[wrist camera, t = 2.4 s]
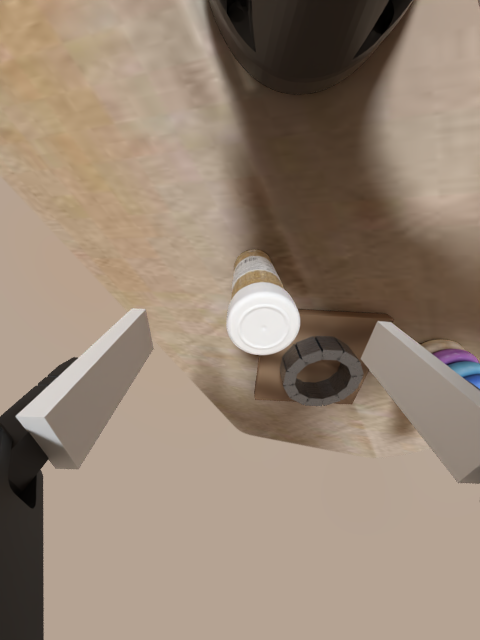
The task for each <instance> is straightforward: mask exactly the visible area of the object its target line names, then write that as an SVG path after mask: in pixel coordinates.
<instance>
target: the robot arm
mask: <svg viewBox="0 0 480 640" xmlns="http://www.w3.org/2000/svg"><path fill="white" fill-rule="evenodd" d="M412 2H413V0H209V3H210V6H211V9H212V12H213V15H214V17H215V20H216V23H217V25H218V27H219V30H220V32H221V34H222V36H223V38H224V40H225V42H226V44H227V45H228V47H229V49H230V50H231V52H232V53H233V55H234V56H235V58H236V59H237V60H238V62H239V63H240V64H241V65H242V67H243V68H244V69H245V70H246V71H247V72H248V73H249V74H250V75H252V76H253V77H254V78H255V79H256V80H258V81H259V82H260V83H262V84H264V85H265V86H267V87H269V88H271V89H273V90H276V91H279V92H283V93H287V94H309V93H314V92H318V91H321V90H324V89H326V88H329V87H331V86H333V85H335V84H337V83H338V82H340V81H342V80H343V79H345V78H346V77H347V76H349V75H350V74H351V73H353V72H354V71H355V70H356V69H358V68H359V67H360V66H361V65H362V64H363V63H364V62H365V61H366V60H367V59H368V58H369V57H370V56H371V55H372V53H373V52H374V51H375V50H376V49H377V48H378V46H379V45H380V44H381V43H382V42H383V40H384V39H385V38H386V37H387V36H388V35H389V33H390V32H391V31H392V30H393V29H394V27H395V26H396V25H397V23H398V22H399V21H400V19H401V18H402V17H403V15H404V14H405V12H406V11H407V9H408V8H409V7H410V5H411V3H412ZM478 3H479V7H480V0H478ZM152 350H153V344H152V339H151V333H150V328H149V323H148V318H147V313H146V309H133V308H132V309H131V310H130V311H129V312H128V313H127V314H125V315H124V316H123V317H122V318H121V319H120V320H119V321H118V322H117V323H116V324H115V325H114V326H113V327H111V328H110V329H109V330H108V331H107V332H106V333H105V334H104V335H103V336H102V337H101V338H99V339H98V340H97V341H96V342H95V343H94V344H93V345H92V346H91V347H90V348H89V349H88V350H87V351H85V352H84V353H83V354H82V355H81V356H80V357H79V358H75V357H74V358H72V359H70V360H68V361H66V362H64V363H63V364H61V365H59V366H58V367H57V368H56V369H55V370H53V371H52V372H51V373H50V374H49V375H48V377H45V378H44V379H43V380H42V381H41V382H39V383H38V386H35V387H34V388H33V389H31V390H30V391H29V392H28V393H27V394H26V395H24V396H23V397H22V398H21V399H20V400H19V401H18V402H16V403H15V404H14V405H13V406H12V407H11V408H9V409H8V410H7V411H6V412H5V413H4V414H3V415H1V417H0V640H43V475H42V472H41V470H40V469H41V468H42V467H43V465H44V464H45V463H46V461H47V460H48V459H49V461H50V462H51V463H52V465H53V466H54V467H55V468H57V469H79V468H80V466H81V464H82V463H83V461H84V459H85V458H86V456H87V454H88V453H89V452H90V450H91V448H92V447H93V445H94V444H95V442H96V440H97V439H98V437H99V435H100V434H101V432H102V431H103V429H104V427H105V426H106V424H107V423H108V421H109V419H110V418H111V416H112V415H113V413H114V411H115V410H116V408H117V406H118V405H119V403H120V402H121V400H122V398H123V397H124V395H125V394H126V392H127V390H128V389H129V387H130V386H131V384H132V382H133V381H134V379H135V377H136V376H137V374H138V373H139V371H140V370H141V368H142V366H143V365H144V363H145V362H146V360H147V358H148V357H149V355H150V354H151V352H152ZM361 360H362V361H363V362H364V364H365V365H366V366H367V367H368V369H369V370H370V371H371V373H372V374H373V375H374V376H375V378H376V379H377V380H378V382H379V383H380V384H381V385H382V387H383V388H384V389H385V390H386V392H387V393H388V394H389V396H390V397H391V398H392V399H393V401H394V402H395V403H396V404H397V406H398V407H399V408H400V410H401V411H402V412H403V413H404V415H405V416H406V417H407V419H408V420H409V421H410V422H411V424H412V425H413V426H414V427H415V429H416V430H417V431H418V433H419V434H420V435H421V436H422V438H423V439H424V440H425V441H426V443H427V444H428V445H429V447H430V448H431V449H432V450H433V452H434V453H435V454H436V455H437V457H438V458H439V459H440V461H441V462H442V463H443V464H444V466H445V467H446V468H447V469H448V471H449V472H450V473H451V475H452V476H453V477H454V478H455V480H456V481H457V482H458V483H477V484H479V483H480V389H479V388H478V387H476V386H475V385H474V384H472V383H471V382H469V381H467V380H465V379H464V378H463V377H461V376H460V375H459V374H457V373H456V372H455V371H453V370H452V369H451V368H450V367H448V366H447V365H446V364H444V363H443V362H442V361H441V360H439V359H438V358H437V357H435V356H434V355H433V354H431V353H430V352H429V351H428V350H426V349H425V348H424V347H422V346H421V345H420V344H419V343H417V342H416V341H415V340H413V339H412V338H411V337H409V336H408V335H407V334H406V333H404V332H403V331H402V330H400V329H399V328H398V327H396V326H395V325H394V324H393V323H391V322H383V321H377V323H376V325H375V328H374V330H373V332H372V334H371V337H370V339H369V341H368V343H367V346H366V348H365V350H364V352H363V355H362V357H361Z"/></svg>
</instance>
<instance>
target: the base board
mask: <svg viewBox="0 0 480 640" xmlns="http://www.w3.org/2000/svg"><path fill="white" fill-rule="evenodd" d="M298 311H299V315H300V328H299V332H298V334H297V336H296V338H295V339H294V341H293V342H292V343H291V344H290V345H289V346H287V347H286V348H285V349H283V350H281V351H279V352H277V353H274V354H270V355H259V361H258V368H257V376H256V384H255V391H254V394H255V400H274V401H295V400H292V399H291V398H289V396H288V394H287V392H286V391H285V389H284V387H283V383H282V379H281V374H280V364H281V359H282V357H283V355H284V354H285V352H286V351H287V350H288V349H289V348H290V347H291V346H292V345H293V344H296V342H299V341H301V340H304V339H307V338H309V337H312V336H314V338H315V336H332V337H334V338H335V337H336V338H337V339H339V340H341V341H342V342H344V343H345V344H347V345H348V346H349V347H350V349H351V350H352V351H353V353H354V354H355V355H356V357H357V358H358V359H359V361H360V363H361V366H362V370H363V378H362V380H361V382H360V384H359V386H358V388H357V389H356V391H354V392H353V393H351V394H350V395H349V396H347V397H346V398H345V399H343V400H341V399H340V401H339V402H335V403H336V404H352V403H353V401H354V399H355V397H356V395H357V393H358V391H359V389H360V387H361V385H362V383H363V381H364V379H365V377H366V375H367V373H368V371H369V369H368V367H367V366H366V365H365V364H364V362H363V361H362V360H361V357H362V355H363V352H364V350H365V348H366V346H367V343H368V341H369V339H370V337H371V334H372V332H373V330H374V328H375V325H376V323H377V321H383V322H391V323H393V321H394V319H393V318H391V317H390V316H389V315H387V314H378V313H360V312H342V311H324V310H306V309H298ZM296 345H297V344H296ZM340 363H341V362H339V361H338V360H320V361H317V362H314V363H311V364H308V365H307V366H305V367H304V368H303V369H302V370H301V371H300V372H299V373H298V374H297V377H296V378H297V379H299V380H301V381H303V382H315V383H316V382H319V381H322V380H326V379H328V378H330V377H331V376H332V375H333V374H334V373H336V372H337V371H338V368H339V366H340ZM295 402H297V401H295Z"/></svg>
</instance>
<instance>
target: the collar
mask: <svg viewBox="0 0 480 640" xmlns="http://www.w3.org/2000/svg"><path fill="white" fill-rule="evenodd" d="M296 344H297V345H296ZM296 344H293V345H292V346H291V347H290V348H289V349H288V350H287V351H286V352H285V354H284V355H283V357H282V359H281V364H280V374H281V379H282V383H283V387H284V389H285V391H286V392H287V394H288V396H289V398H291V399H292V400H295V401H297V402H299V403H301V404H303V405H304V404H305V405H309V406H322V404H323V405H324V406H325V405H329V404H332V403H335V402H339V401H340V399H341V400H343V399H345V398H346V397H347V396H349V395H350V394H351V393H353V392H354V391H356V389H357V388H358V386H359V384H360V382H361V380H362V378H363V370H362V366H361V363H360V361H359V359H358V358H357V357H356V355H355V354H354V353H353V351H352V350H351V349H350V347H349V346H348V345H347V344H345V343H344V342H342V341H341V340H339V339H337V338H336V337H335V338H334V337H332V336H315V338H314V336H312V337H309V338H307V339H304V340H301V341H299V342H296ZM320 360H338V361H339V362H341V363H340V366H339V368H338V371H337V372H336V373H334V374H333V375H332V376H331V377H330V378H328V379H326V380H322V381H319V382H316V383H315V382H303V381H301V380H299V379H297V378H296V377H297V374H298V373H299V372H300V371H301V370H302V369H303V368H304V367H305V366H307V365H308V364H311V363H314V362H317V361H320Z"/></svg>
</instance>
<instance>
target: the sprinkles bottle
mask: <svg viewBox="0 0 480 640" xmlns="http://www.w3.org/2000/svg"><path fill="white" fill-rule="evenodd" d="M299 328H300V315H299V311H298V309H297V307H296V305H295V303H294V301H293V299H292V297H291V296H290V295H289V293H288V292H287V291H286V290H284V287H283V284H282V282H281V280H280V278H279V276H278V274H277V272H276V270H275V268H274V266H273V265H272V262H271V259H270V258H269V256H268V255H267V254H266V253H264V252H263V251H260V250H256V249H251V250H247V251H246V252H243V253H242V254H241V255H240V256H239V257H238V258H237V260H236V262H235V265H234V275H233V282H232V299H231V301H230V304H229V306H228V312H227V332H228V335H229V337H230V339H231V340H232V342H233V343H234V344H235V345H236V346H237V347H238V348H239V349H241V350H243V351H245V352H247V353H250V354H254V355H270V354H274V353H277V352H279V351H281V350H283V349H285V348H286V347H287V346H289V345H290V344H291V343H292V342H293V341H294V339H295V338H296V336H297V334H298V332H299Z"/></svg>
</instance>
